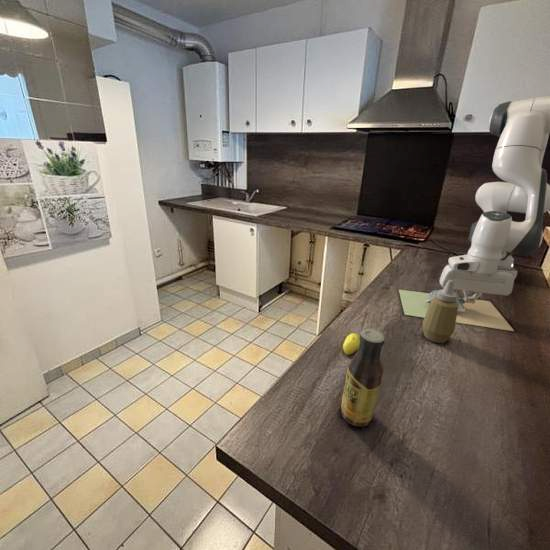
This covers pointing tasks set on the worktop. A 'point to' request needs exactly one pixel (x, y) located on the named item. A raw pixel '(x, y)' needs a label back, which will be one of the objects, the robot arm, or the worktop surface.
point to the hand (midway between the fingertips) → (469, 302)
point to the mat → (473, 314)
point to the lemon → (351, 343)
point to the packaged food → (458, 300)
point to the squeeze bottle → (441, 315)
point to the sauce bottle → (363, 380)
